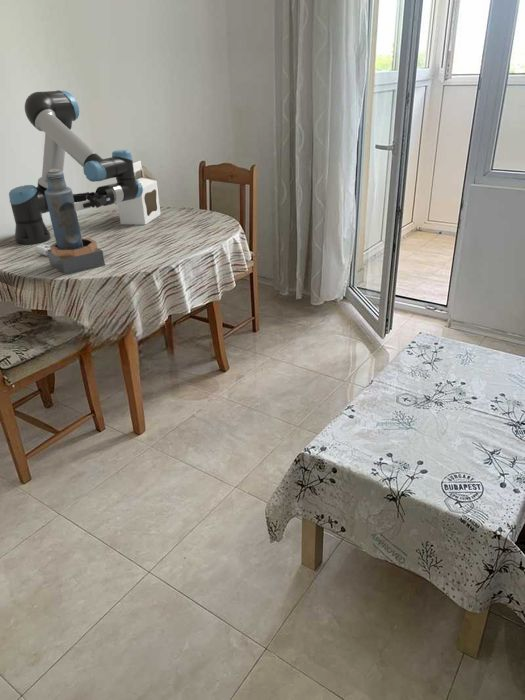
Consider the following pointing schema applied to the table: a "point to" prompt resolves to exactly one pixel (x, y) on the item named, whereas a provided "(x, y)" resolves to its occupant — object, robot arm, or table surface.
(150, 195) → the gable box
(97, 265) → the copper and grey block
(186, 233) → the table surface
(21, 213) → the robot arm
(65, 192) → the bottle
